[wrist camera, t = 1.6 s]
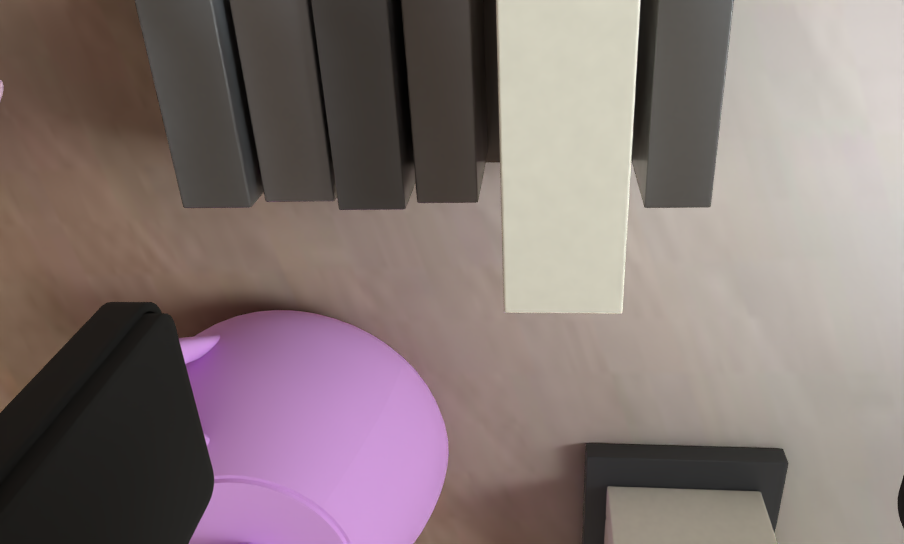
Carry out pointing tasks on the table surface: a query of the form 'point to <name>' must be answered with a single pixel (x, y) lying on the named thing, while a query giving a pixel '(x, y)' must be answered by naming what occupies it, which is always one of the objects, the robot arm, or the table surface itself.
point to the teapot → (313, 433)
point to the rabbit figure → (1, 89)
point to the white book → (565, 151)
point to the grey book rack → (398, 99)
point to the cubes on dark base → (681, 494)
